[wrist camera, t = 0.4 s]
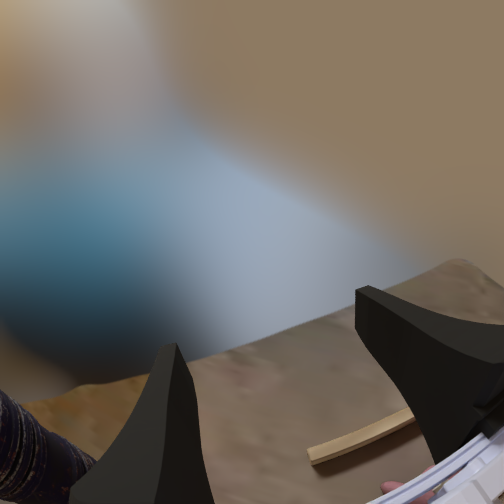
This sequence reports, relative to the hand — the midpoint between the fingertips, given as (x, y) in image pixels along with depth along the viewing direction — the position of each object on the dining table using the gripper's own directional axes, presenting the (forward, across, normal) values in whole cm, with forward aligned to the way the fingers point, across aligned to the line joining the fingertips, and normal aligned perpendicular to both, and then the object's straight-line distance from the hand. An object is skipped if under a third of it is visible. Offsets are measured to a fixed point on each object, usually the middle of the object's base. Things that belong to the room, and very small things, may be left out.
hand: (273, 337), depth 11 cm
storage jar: (+4, +23, +20) cm, 31 cm away
